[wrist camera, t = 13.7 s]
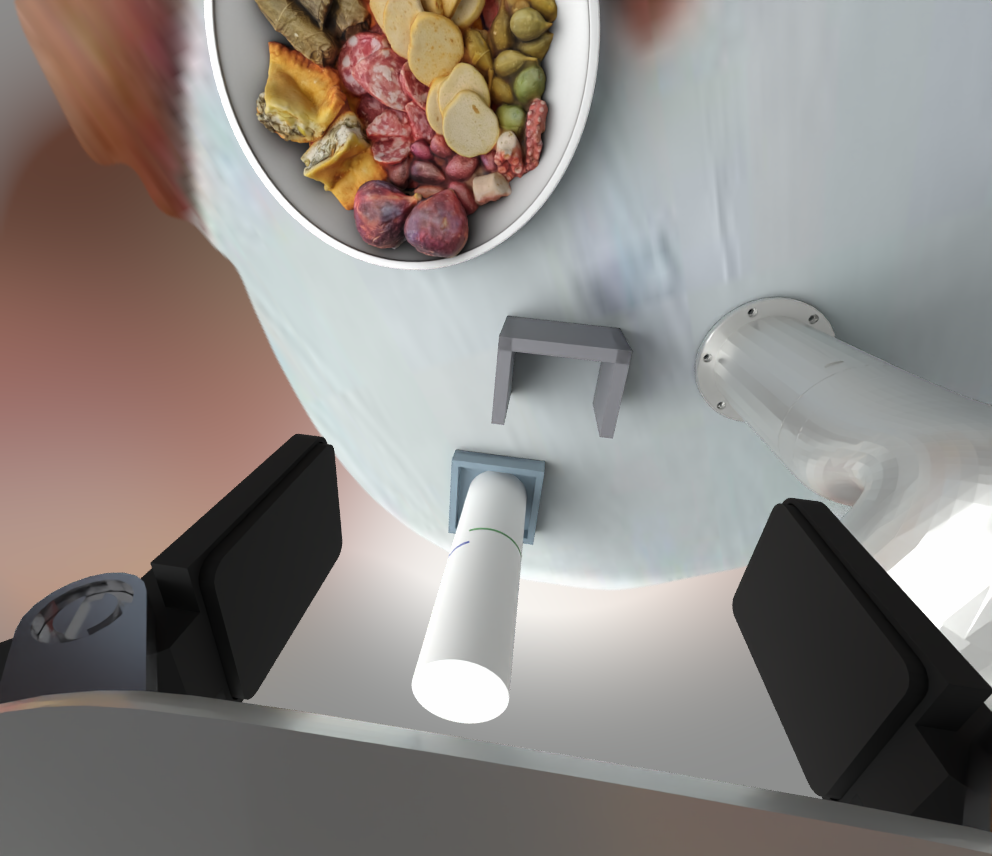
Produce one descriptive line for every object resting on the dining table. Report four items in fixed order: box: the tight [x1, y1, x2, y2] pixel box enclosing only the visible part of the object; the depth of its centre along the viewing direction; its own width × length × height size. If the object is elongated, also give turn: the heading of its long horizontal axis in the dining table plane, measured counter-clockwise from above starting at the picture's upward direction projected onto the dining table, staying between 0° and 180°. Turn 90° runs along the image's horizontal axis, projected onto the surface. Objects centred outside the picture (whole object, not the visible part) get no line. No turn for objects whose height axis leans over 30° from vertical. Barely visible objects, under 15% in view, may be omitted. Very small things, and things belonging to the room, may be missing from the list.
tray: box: [448, 450, 545, 545], centre depth 55 cm, size 11×11×2 cm
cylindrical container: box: [412, 471, 527, 723], centre depth 44 cm, size 7×7×25 cm
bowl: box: [204, 0, 600, 270], centre depth 35 cm, size 30×30×8 cm
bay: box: [491, 316, 633, 438], centre depth 44 cm, size 11×8×8 cm
